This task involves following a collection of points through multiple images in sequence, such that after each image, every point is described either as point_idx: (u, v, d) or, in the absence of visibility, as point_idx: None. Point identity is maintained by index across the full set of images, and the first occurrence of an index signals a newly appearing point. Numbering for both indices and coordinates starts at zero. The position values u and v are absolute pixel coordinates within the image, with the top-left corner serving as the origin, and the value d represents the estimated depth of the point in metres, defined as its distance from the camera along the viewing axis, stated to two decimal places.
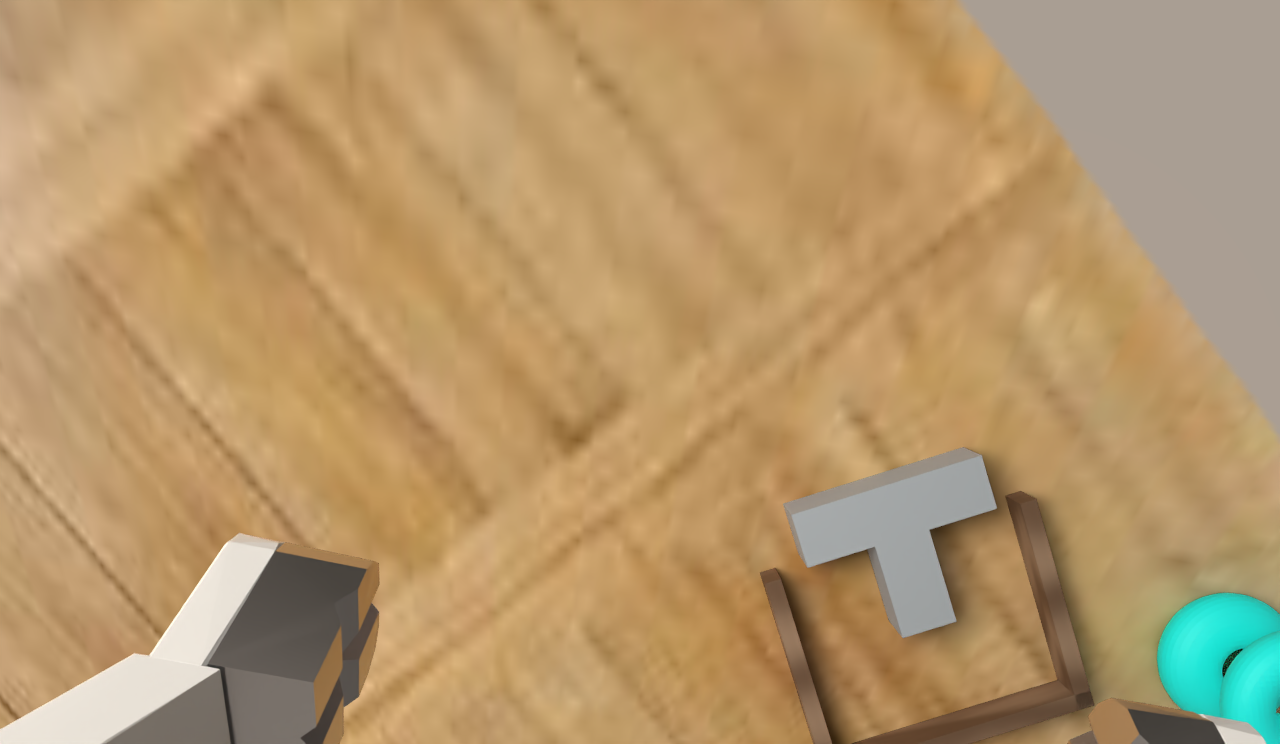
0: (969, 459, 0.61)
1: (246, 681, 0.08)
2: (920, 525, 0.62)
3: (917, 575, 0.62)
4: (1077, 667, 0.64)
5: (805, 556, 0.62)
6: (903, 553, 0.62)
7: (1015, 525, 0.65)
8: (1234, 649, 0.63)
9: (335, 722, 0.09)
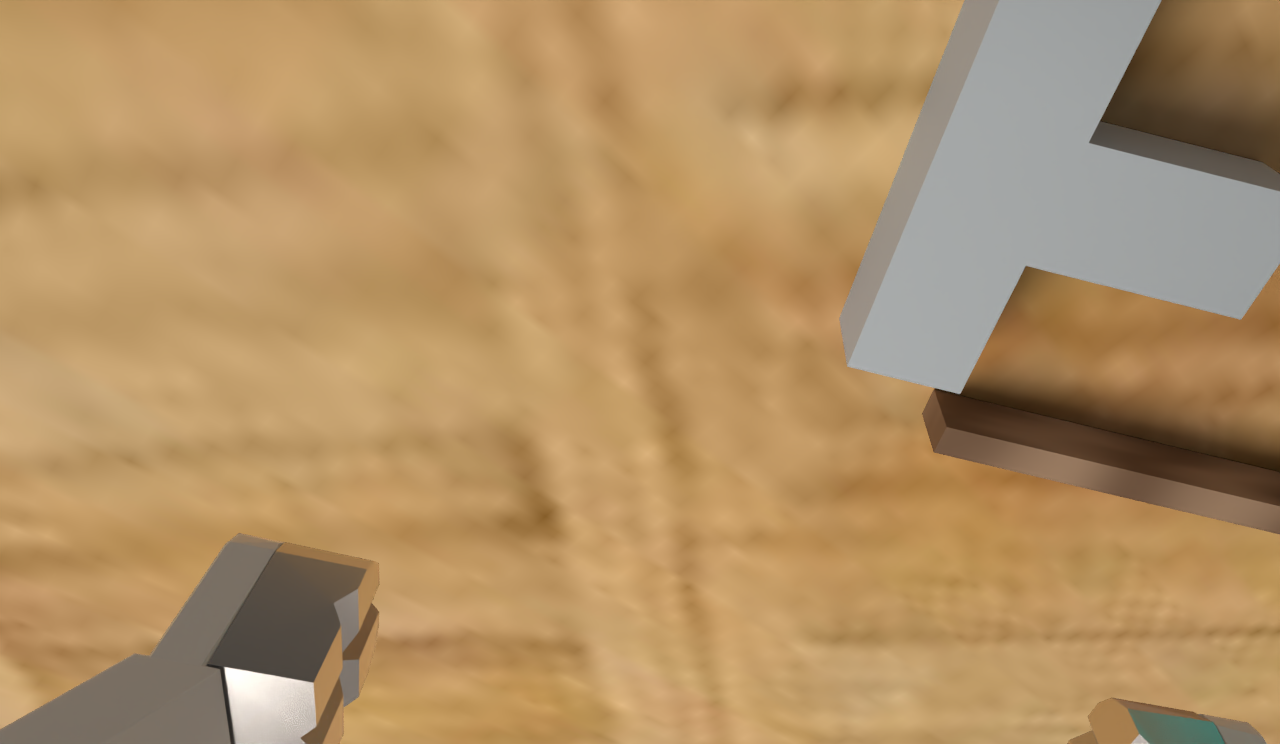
0: None
1: (246, 681, 0.08)
2: (1063, 155, 0.25)
3: (1153, 222, 0.26)
4: None
5: (938, 386, 0.30)
6: (1086, 222, 0.26)
7: None
8: None
9: (335, 722, 0.09)
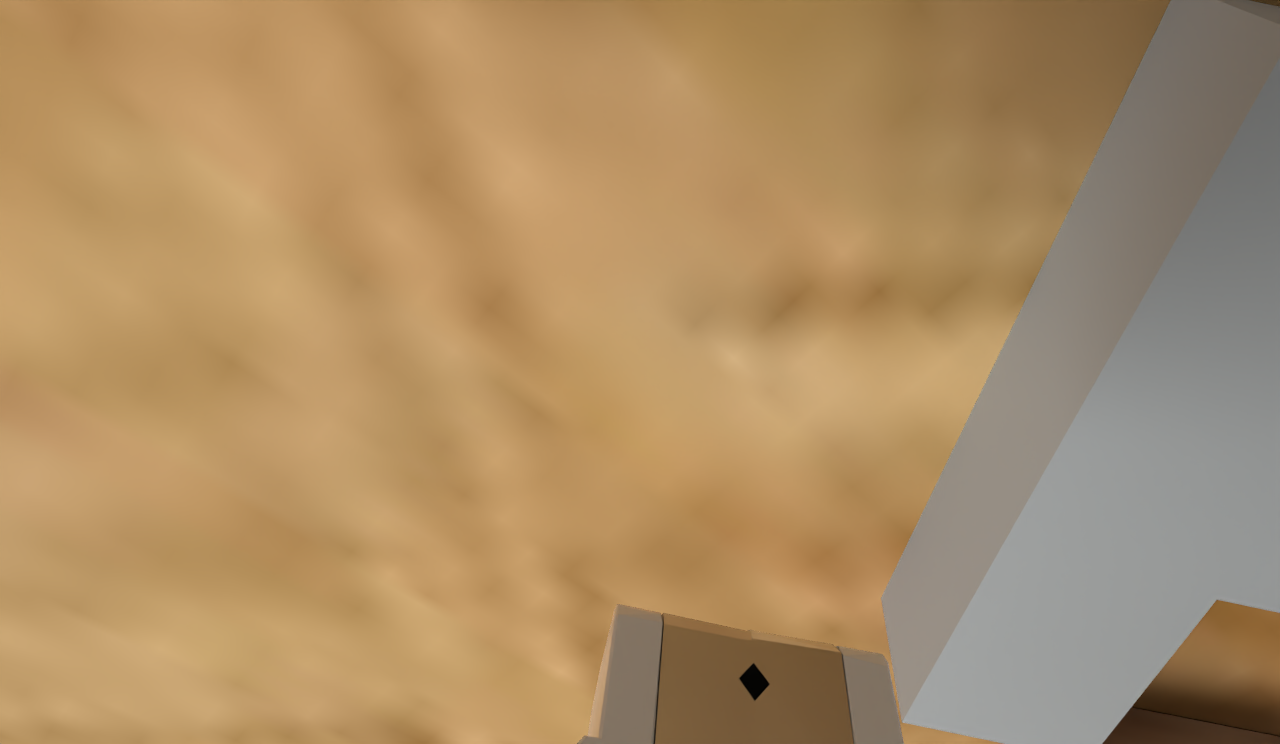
0: (1253, 102, 0.11)
1: None
2: None
3: None
4: None
5: None
6: None
7: None
8: None
9: None
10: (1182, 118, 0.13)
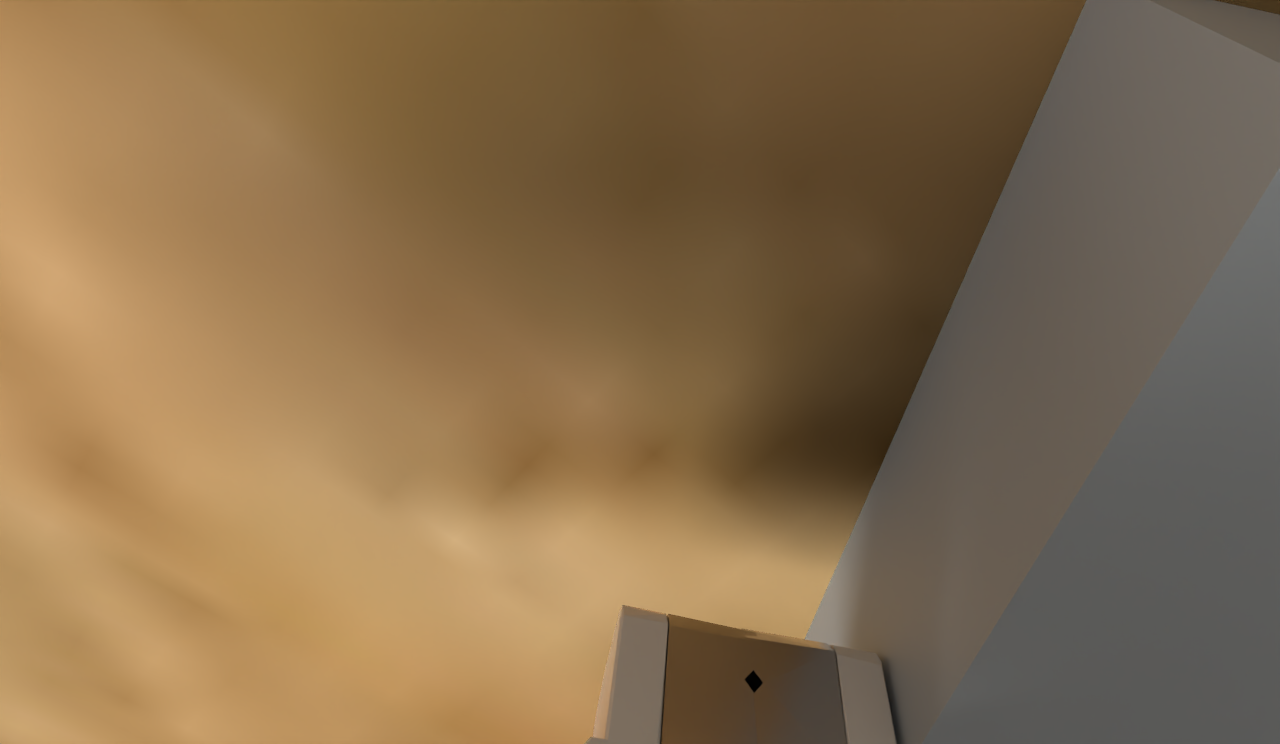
0: (1235, 237, 0.05)
1: None
2: None
3: None
4: None
5: None
6: None
7: None
8: None
9: None
10: (1099, 234, 0.07)
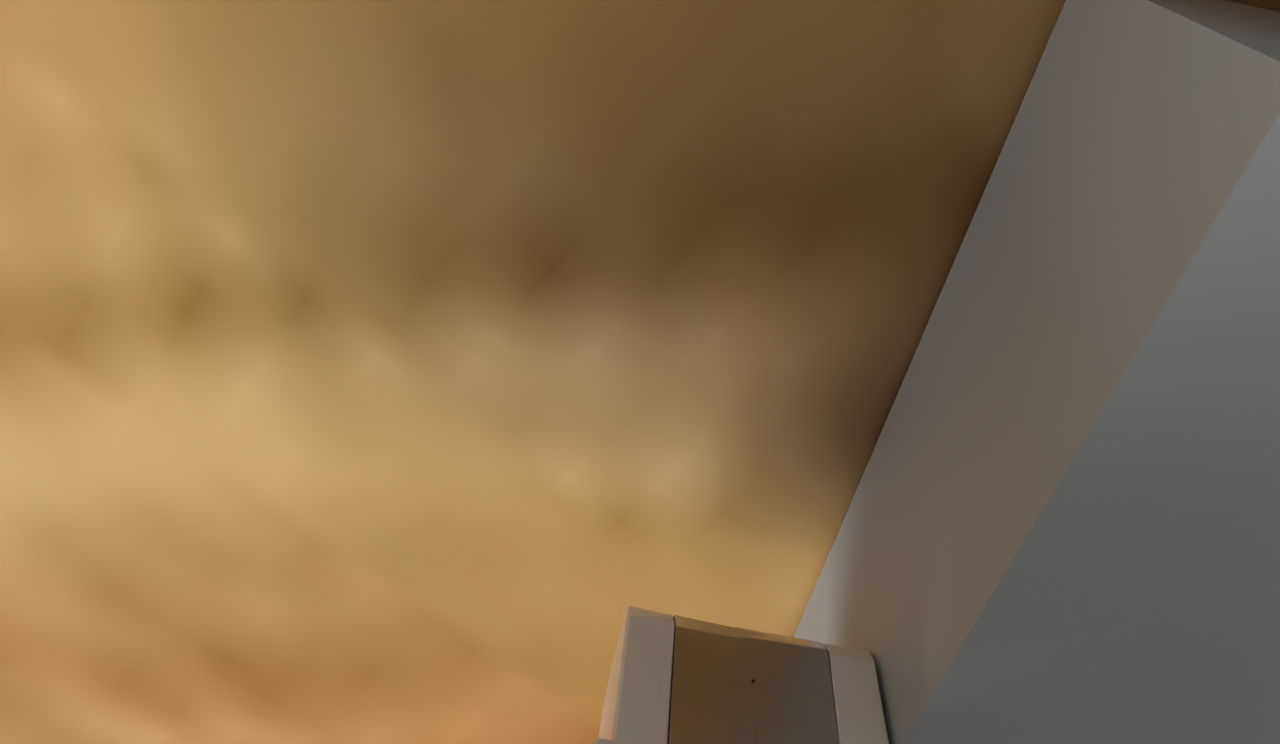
0: (1212, 222, 0.05)
1: None
2: None
3: None
4: None
5: None
6: None
7: None
8: None
9: None
10: (1082, 223, 0.07)
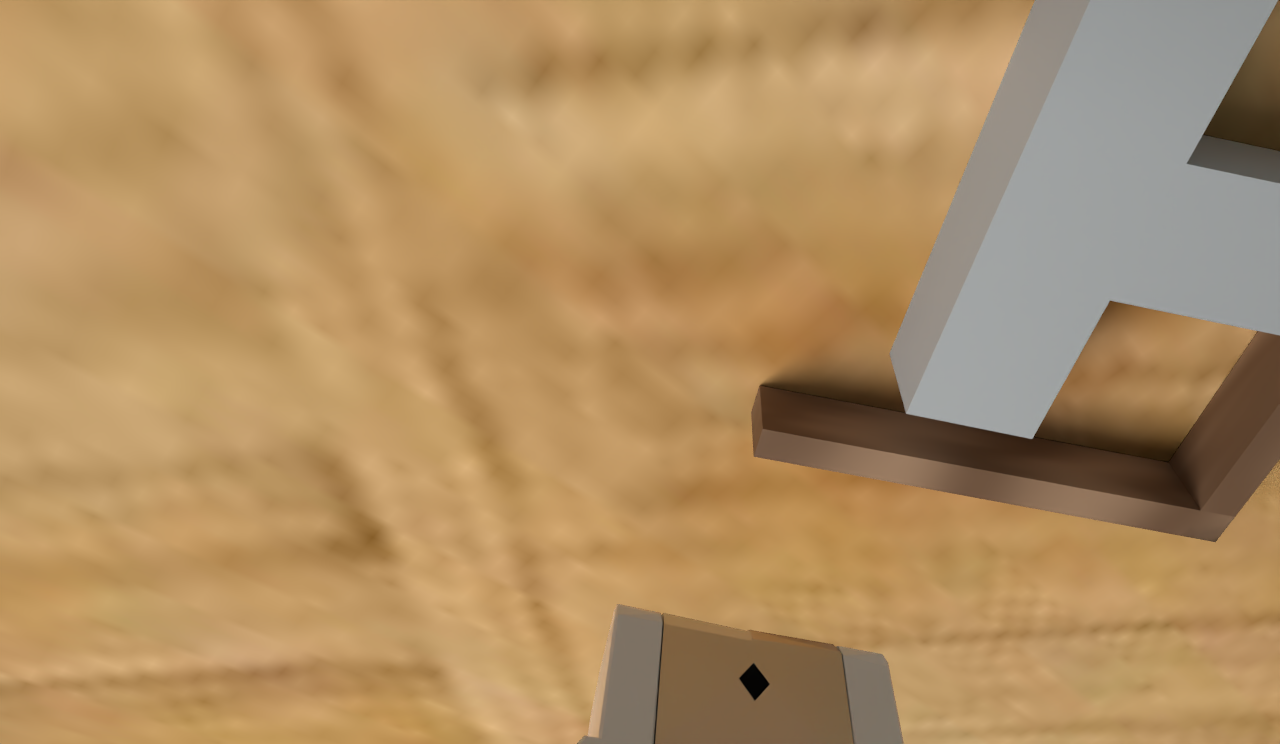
0: None
1: None
2: (1157, 178, 0.22)
3: (1258, 248, 0.23)
4: None
5: (1007, 431, 0.27)
6: (1180, 251, 0.23)
7: None
8: None
9: None
10: None
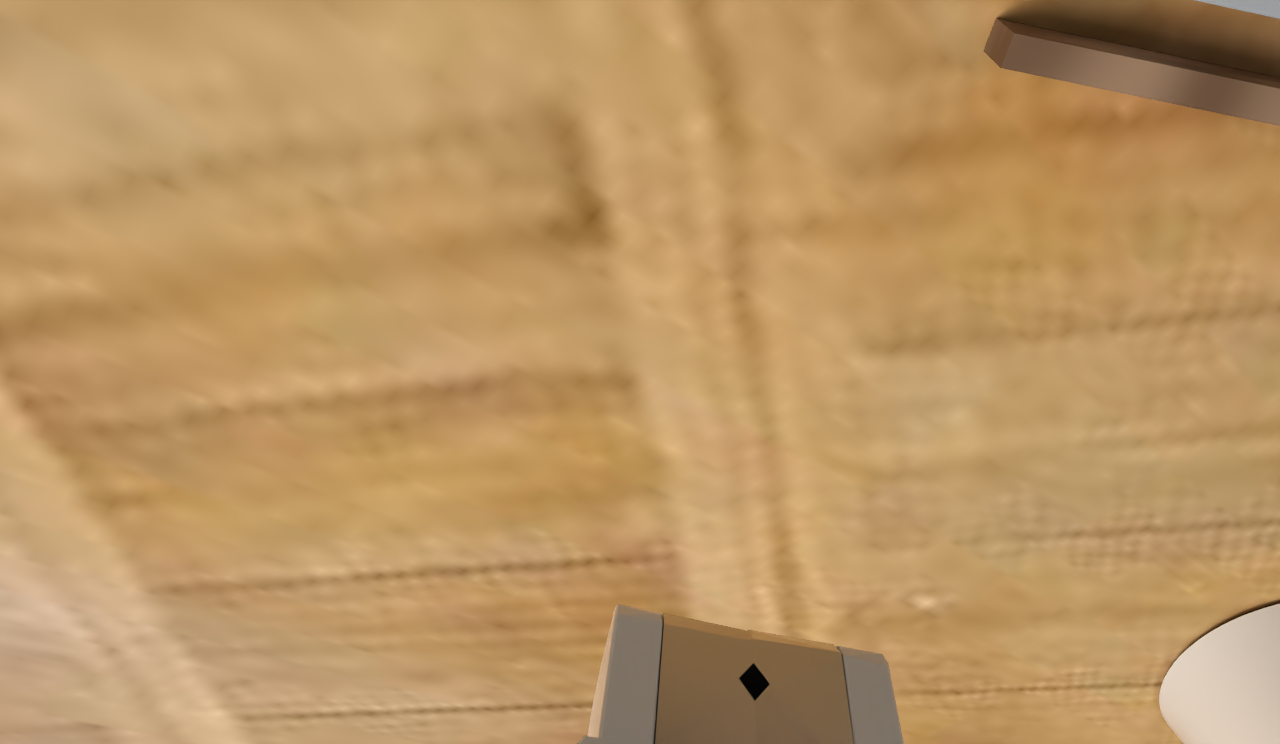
0: None
1: None
2: None
3: None
4: None
5: (1259, 11, 0.29)
6: None
7: None
8: None
9: None
10: None
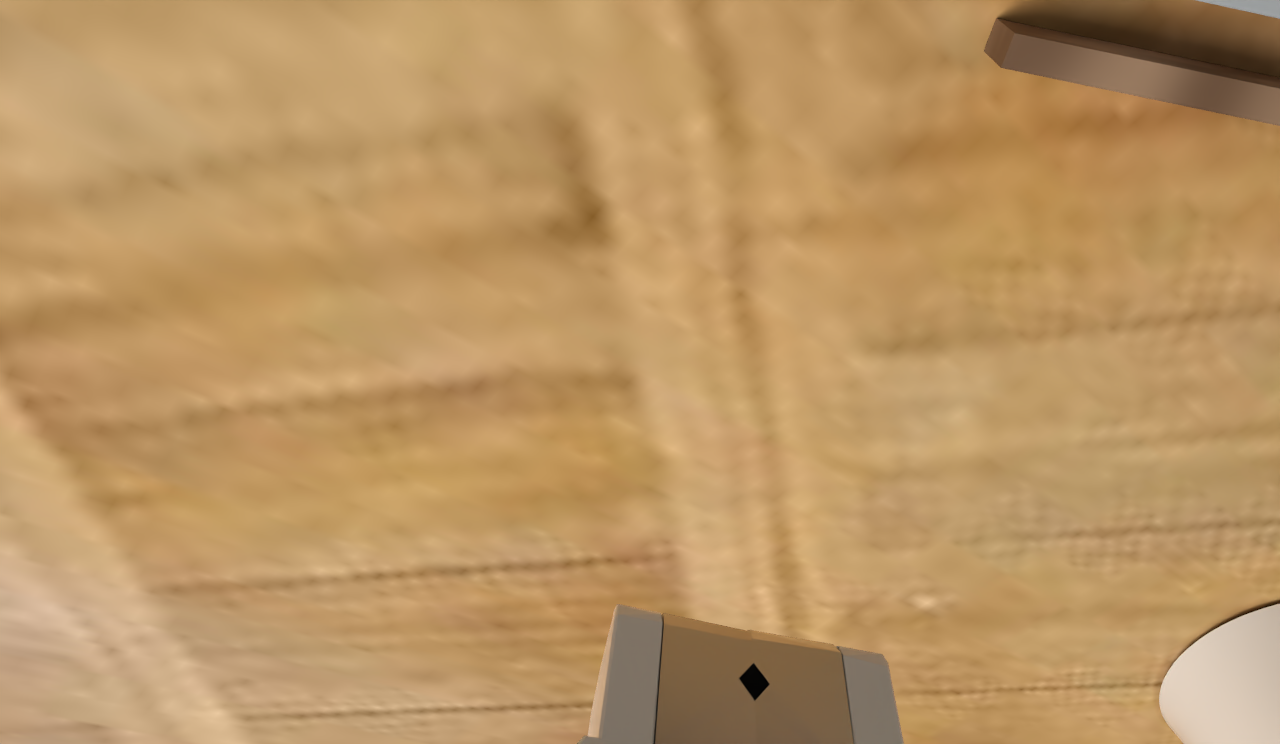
0: None
1: None
2: None
3: None
4: None
5: (1259, 10, 0.29)
6: None
7: None
8: None
9: None
10: None
